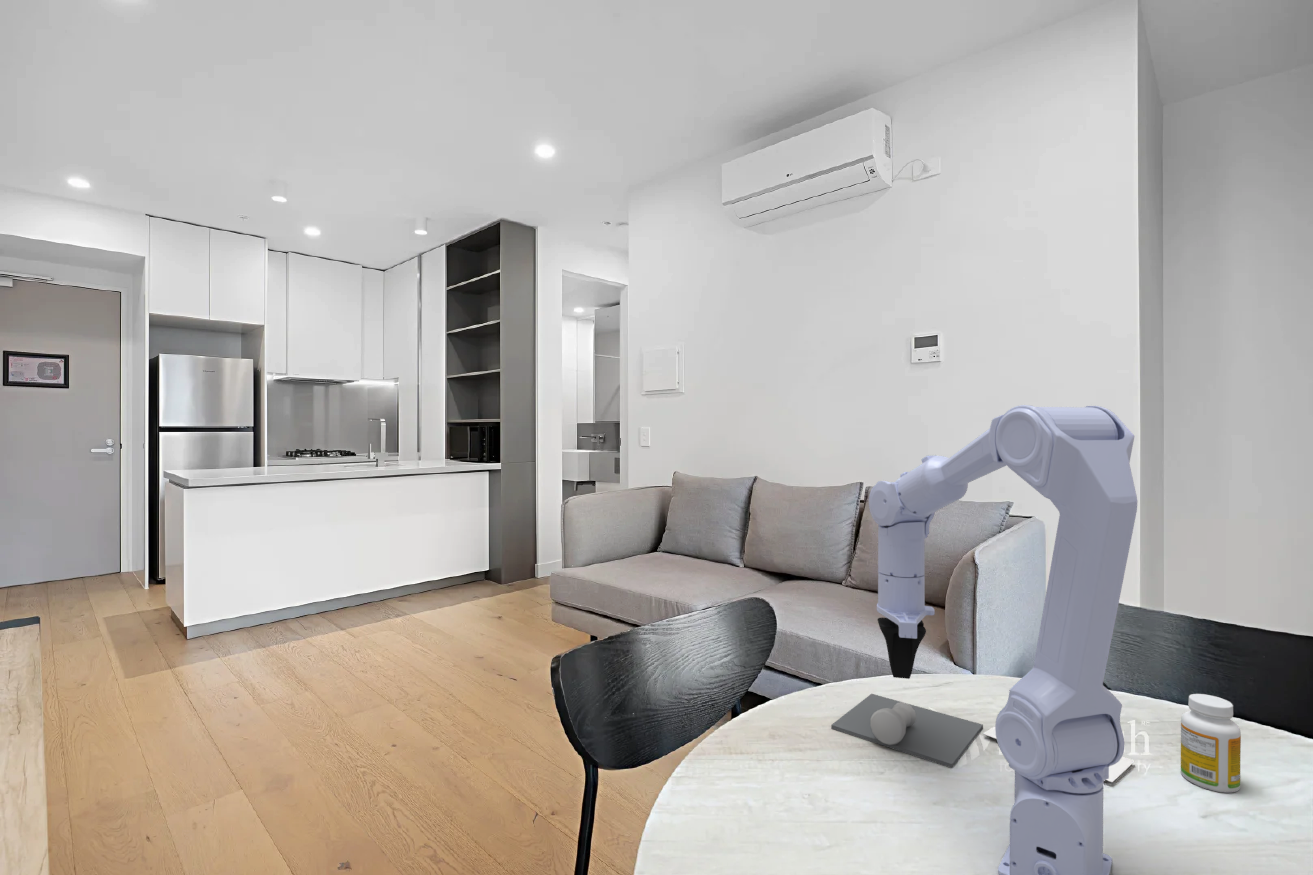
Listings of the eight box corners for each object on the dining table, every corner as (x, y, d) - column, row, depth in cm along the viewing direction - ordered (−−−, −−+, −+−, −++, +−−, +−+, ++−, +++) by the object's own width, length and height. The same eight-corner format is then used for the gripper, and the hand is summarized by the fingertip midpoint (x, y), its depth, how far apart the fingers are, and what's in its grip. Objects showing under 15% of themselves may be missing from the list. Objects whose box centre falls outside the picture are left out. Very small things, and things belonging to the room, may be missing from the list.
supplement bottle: (1223, 772, 78) (1224, 693, 78) (1251, 797, 73) (1252, 712, 73) (1171, 766, 79) (1172, 688, 79) (1194, 790, 74) (1195, 706, 74)
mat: (952, 768, 79) (952, 764, 79) (831, 728, 90) (831, 724, 90) (982, 728, 90) (983, 724, 90) (871, 696, 100) (871, 693, 100)
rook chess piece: (873, 703, 85) (894, 690, 91) (865, 735, 85) (887, 719, 91) (906, 720, 82) (926, 705, 88) (898, 752, 82) (918, 735, 89)
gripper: (944, 587, 76) (944, 701, 76) (925, 563, 90) (924, 659, 90) (881, 584, 78) (881, 695, 78) (872, 560, 92) (872, 655, 92)
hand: (900, 676), depth 84 cm, fingers closed
